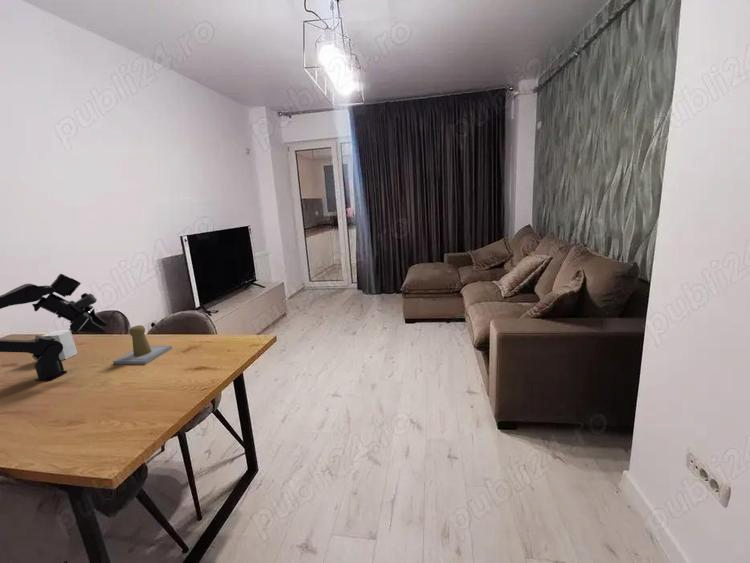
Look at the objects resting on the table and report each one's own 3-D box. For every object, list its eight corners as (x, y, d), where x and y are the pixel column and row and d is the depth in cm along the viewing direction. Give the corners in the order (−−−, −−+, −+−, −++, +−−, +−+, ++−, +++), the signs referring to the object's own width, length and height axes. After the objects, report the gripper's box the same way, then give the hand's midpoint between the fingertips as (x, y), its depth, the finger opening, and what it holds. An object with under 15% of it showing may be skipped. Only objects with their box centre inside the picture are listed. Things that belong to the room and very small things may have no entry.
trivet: (146, 364, 135) (145, 360, 135) (113, 364, 138) (112, 360, 138) (172, 348, 149) (171, 345, 149) (142, 348, 151) (141, 345, 151)
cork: (134, 352, 145) (128, 325, 142) (152, 348, 147) (146, 322, 144) (132, 357, 139) (125, 330, 137) (150, 353, 142) (144, 326, 139)
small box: (78, 353, 151) (71, 330, 149) (65, 359, 146) (58, 335, 143) (60, 354, 152) (53, 330, 150) (47, 360, 147) (40, 335, 144)
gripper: (73, 293, 125) (119, 316, 133) (79, 284, 141) (120, 305, 149) (49, 320, 123) (98, 342, 131) (59, 308, 138) (101, 328, 147)
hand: (105, 328), depth 139 cm, fingers open, 9 cm apart
